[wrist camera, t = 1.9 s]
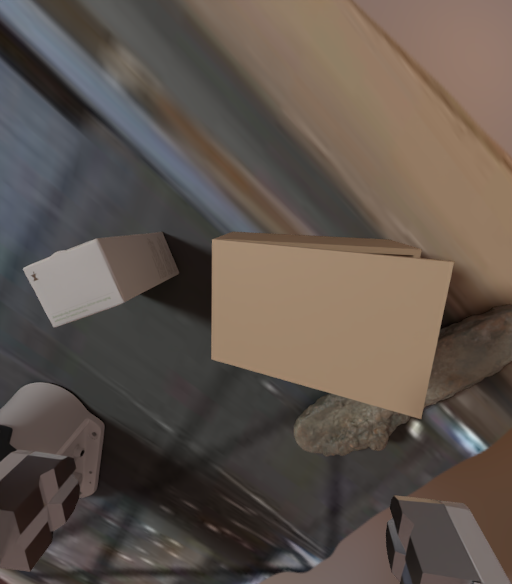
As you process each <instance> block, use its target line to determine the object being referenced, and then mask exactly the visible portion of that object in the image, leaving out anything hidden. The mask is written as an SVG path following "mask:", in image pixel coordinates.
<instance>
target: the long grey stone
mask: <svg viewBox="0 0 512 584" xmlns="http://www.w3.org/2000/svg"><path fill="white" fill-rule="evenodd" d="M511 361H512V305H505V306H499V307H494V308H492V309H491V310H490V311H488V312H486V313H484V314H481V315H473V316H470V317H468V318H466V319H464V320H463V321H461V322H459V323H454V324H451V325H450V326H449V327H445V328H442V329H440V332H439V336H438V341H437V346H436V351H435V355H434V360H433V365H432V370H431V375H430V379H429V384H428V389H427V394H426V398H425V403H424V408H425V407H426V406H429V405H432V404H436V403H437V402H438V401H440V400H444V399H447V398H449V397H451V396H454V394H456V393H457V392H459V391H461V390H463V389H467V388H470V387H471V386H472V385H473V384H476V383H479V382H481V381H482V380H483V379H484V378H485V377H489V376H492V375H494V374H496V373H497V372H499V371H501V370H502V368H503V366H505V365H506V364H508V363H510V362H511ZM410 417H411V416H408V415H405V414H401V413H398V412H394V411H391V410H387V409H384V408H380V407H377V406H373V405H370V404H366V403H363V402H359V401H356V400H352V399H349V398H345V397H342V396H338V395H335V394H331V393H329V394H327V395H325V396H322V397H320V399H318V400H317V402H316V403H314V404H313V405H310V406H309V407H308V408H307V409H306V410H305V411H304V412H303V413H302V414H301V415H300V416H299V417H298V418H297V419H296V423H295V425H294V437H295V440H296V442H297V443H298V445H299V446H300V447H301V448H302V449H303V450H305V451H307V452H312V453H322V454H324V455H325V456H329V455H337V454H339V455H341V456H344V455H346V454H349V453H350V452H352V451H358V450H360V449H366V448H368V447H370V448H371V449H372V450H376V451H379V450H383V449H384V448H385V446H386V444H387V443H388V439H389V436H390V435H391V434H392V432H393V431H394V430H395V429H396V427H397V426H399V425H400V424H405V423H407V422H408V421H409V420H410Z"/></svg>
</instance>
